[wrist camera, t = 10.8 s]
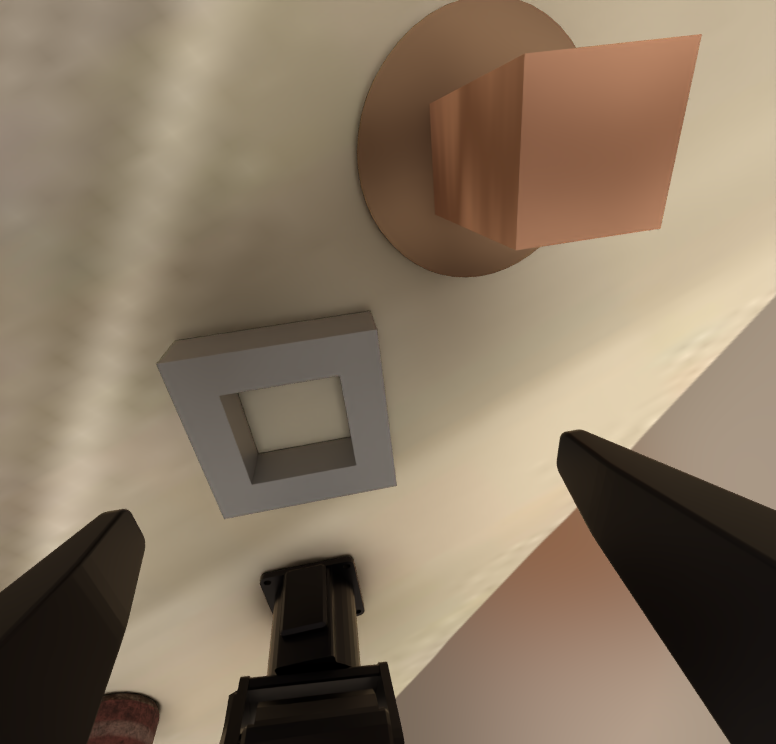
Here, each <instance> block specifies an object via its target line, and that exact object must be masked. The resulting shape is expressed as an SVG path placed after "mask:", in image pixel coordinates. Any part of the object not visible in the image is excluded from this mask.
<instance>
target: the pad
mask: <svg viewBox="0 0 776 744" xmlns="http://www.w3.org/2000/svg"><path fill="white" fill-rule="evenodd" d="M571 48H576V47H575V45H574V44H573V42H572V40H571V39H570V38H569V36H568V35H567V34H566V33H565V31H564V30H563V29H562V28H561V27H560V25H558V24H557V23H556V22H555V21H554V20H553V19H552V18H551V17H549V16H548V15H547V14H546V13H544V12H542V11H541V10H539V9H538V8H536V7H534V6H533V5H530V4H528V3H525V2H523V1H520V0H458V1H456V2H453V3H450V4H447V5H445V6H443V7H441V8H440V9H438V10H436V11H434V12H432V13H431V14H429V15H428V16H426V17H425V18H424V19H422V20H421V21H420V22H418V23H417V24H416V25H415V26H413V27H412V28H411V29H410V30H409V31H408V32H407V33H406V35H405V36H404V37H403V38H402V39H401V40H400V41H399V42H398V43H397V45H396V46H395V47H394V49H393V50H392V51H391V53H390V54H389V55H388V57H387V58H386V60H385V61H384V63H383V64H382V66H381V68H380V70H379V71H378V73H377V75H376V77H375V79H374V80H373V83H372V85H371V88H370V90H369V92H368V95H367V97H366V100H365V104H364V107H363V111H362V114H361V119H360V125H359V131H358V143H357V161H358V172H359V178H360V183H361V188H362V191H363V195H364V198H365V201H366V204H367V206H368V208H369V211H370V213H371V215H372V217H373V219H374V221H375V222H376V224H377V226H378V227H379V229H380V230H381V232H382V233H383V234H384V235H385V237H386V238H387V239H388V240H389V242H390V243H391V244H392V245H393V246H394V247H395V248H396V249H397V250H398V251H399V252H401V253H402V254H403V255H404V256H405V257H407V258H408V259H409V260H411V261H412V262H414V263H415V264H417V265H419V266H421V267H423V268H425V269H427V270H429V271H432V272H435V273H438V274H442V275H447V276H452V277H476V276H482V275H487V274H492V273H495V272H498V271H500V270H503V269H506V268H508V267H510V266H512V265H514V264H516V263H518V262H520V261H521V260H523V259H524V258H526V257H527V256H529V255H530V254H532V253H533V252H534V251H535V250H536V249H538V248H539V247H535V248H528V249H522V250H514V249H512V248H509V247H507V246H505V245H503V244H500V243H498V242H496V241H494V240H491V239H489V238H487V237H485V236H482V235H480V234H478V233H476V232H473V231H471V230H469V229H467V228H464V227H462V226H460V225H458V224H455V223H453V222H451V221H449V220H446V219H444V218H442V217H440V216H437V215H435V205H434V185H433V165H432V145H431V125H430V105H429V104H430V103H432V102H434V101H436V100H438V99H440V98H441V97H443V96H445V95H447V94H449V93H451V92H453V91H455V90H457V89H459V88H460V87H462V86H464V85H466V84H468V83H470V82H472V81H474V80H476V79H477V78H479V77H481V76H483V75H485V74H487V73H489V72H491V71H493V70H495V69H496V68H498V67H500V66H502V65H504V64H506V63H508V62H510V61H512V60H513V59H515V58H517V57H519V56H521V55H523V54H525V53H534V52H544V51H553V50H562V49H571Z"/></svg>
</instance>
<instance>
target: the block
mask: <svg viewBox="0 0 776 744" xmlns="http://www.w3.org/2000/svg"><path fill="white" fill-rule="evenodd" d="M701 36H702V34H699V35H690V36H681V37H672V38H663V39H654V40H644V41H635V42H626V43H617V44H608V45H599V46H589V47H580V48H571V49H562V50H553V51H544V52H534V53H525V54H523V55H521V56H519V57H517V58H515V59H513V60H512V61H510V62H508V63H506V64H504V65H502V66H500V67H498V68H496V69H495V70H493V71H491V72H489V73H487V74H485V75H483V76H481V77H479V78H477V79H476V80H474V81H472V82H470V83H468V84H466V85H464V86H462V87H460V88H459V89H457V90H455V91H453V92H451V93H449V94H447V95H445V96H443V97H441V98H440V99H438V100H436V101H434V102H432V103H430V104H429V105H430V125H431V145H432V165H433V185H434V205H435V215H437V216H440V217H442V218H444V219H446V220H449V221H451V222H453V223H455V224H458V225H460V226H462V227H464V228H467V229H469V230H471V231H473V232H476V233H478V234H480V235H482V236H485V237H487V238H489V239H491V240H494V241H496V242H498V243H500V244H503V245H505V246H507V247H509V248H512V249H514V250H522V249H528V248H535V247H542V246H548V245H555V244H561V243H568V242H574V241H581V240H587V239H594V238H601V237H607V236H614V235H620V234H627V233H633V232H640V231H647V230H653V229H660V228H661V223H662V219H663V214H664V209H665V204H666V200H667V195H668V190H669V186H670V181H671V176H672V172H673V167H674V162H675V158H676V153H677V148H678V143H679V139H680V134H681V129H682V125H683V120H684V115H685V111H686V106H687V101H688V97H689V92H690V87H691V82H692V78H693V73H694V68H695V64H696V59H697V54H698V50H699V45H700V40H701Z"/></svg>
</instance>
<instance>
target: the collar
mask: <svg viewBox="0 0 776 744" xmlns="http://www.w3.org/2000/svg"><path fill="white" fill-rule="evenodd" d="M156 365H157V367H158V369H159V372H160V374H161V376H162V378H163V381H164V383H165V385H166V388H167V390H168V392H169V394H170V397H171V399H172V401H173V404H174V406H175V408H176V410H177V413H178V415H179V417H180V420H181V422H182V424H183V426H184V429H185V431H186V433H187V435H188V438H189V440H190V442H191V445H192V447H193V449H194V451H195V454H196V456H197V458H198V461H199V463H200V465H201V467H202V470H203V472H204V474H205V477H206V479H207V481H208V483H209V486H210V488H211V490H212V493H213V495H214V497H215V499H216V502H217V504H218V506H219V508H220V511H221V513H222V515H223V518H224V519H227V518H232V517H237V516H243V515H248V514H253V513H258V512H263V511H268V510H274V509H279V508H284V507H289V506H294V505H300V504H305V503H310V502H315V501H320V500H325V499H331V498H336V497H341V496H346V495H351V494H357V493H362V492H367V491H372V490H377V489H383V488H388V487H393V486H397V483H396V475H395V467H394V459H393V452H392V444H391V436H390V428H389V420H388V412H387V404H386V396H385V388H384V380H383V372H382V364H381V356H380V348H379V340H378V332H377V328H376V325H375V322H374V319H373V316H372V313H371V311H367V312H360V313H354V314H347V315H340V316H334V317H327V318H321V319H314V320H308V321H301V322H295V323H288V324H281V325H275V326H268V327H262V328H255V329H249V330H242V331H236V332H229V333H222V334H216V335H209V336H203V337H196V338H190V339H183V340H177V341H174V343H173V344H172V345H171V346H170V347H169V349H168V350H167V351H166V352H165V354H164V355H163V356H162V357H161V359H160V360H159V361H158V362H157V364H156ZM335 376H340V380H341V385H342V391H343V396H344V401H345V407H346V412H347V417H348V423H349V428H350V433H351V437H349V438H343V439H338V440H332V441H327V442H321V443H316V444H310V445H304V446H299V447H293V448H288V449H282V450H277V451H271V452H266V453H260V454H258V452H257V449H256V446H255V443H254V440H253V437H252V434H251V431H250V428H249V426H248V423H247V420H246V417H245V414H244V411H243V408H242V405H241V402H240V399H239V396H238V393H239V392H245V391H251V390H257V389H263V388H269V387H275V386H281V385H287V384H293V383H299V382H305V381H311V380H317V379H323V378H329V377H335Z"/></svg>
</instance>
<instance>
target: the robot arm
mask: <svg viewBox="0 0 776 744" xmlns="http://www.w3.org/2000/svg"><path fill="white" fill-rule="evenodd" d="M557 468H558V471H559V473H560V475H561V477H562V479H563V481H564V483H565V485H566V487H567V489H568V491H569V492H570V494H571V496H572V498H573V500H574V502H575V504H576V506H577V508H578V509H579V511H580V513H581V515H582V517H583V519H584V521H585V523H586V525H587V526H588V528H589V530H590V532H591V533H592V535H593V537H594V538H595V540H596V541H597V543H598V545H599V546H600V548H601V549H602V551H603V552H604V554H605V555H606V557H607V558H608V560H609V561H610V563H611V564H612V566H613V567H614V569H615V570H616V572H617V573H618V575H619V576H620V578H621V579H622V581H623V582H624V584H625V585H626V587H627V588H628V590H629V591H630V593H631V594H632V596H633V597H634V599H635V600H636V602H637V603H638V605H639V606H640V608H641V610H642V611H643V612H644V614H645V616H646V617H647V619H648V620H649V622H650V623H651V625H652V626H653V628H654V629H655V631H656V632H657V634H658V635H659V637H660V638H661V640H662V641H663V643H664V644H665V646H666V647H667V649H668V650H669V652H670V653H671V655H672V656H673V658H674V659H675V661H676V662H677V664H678V665H679V667H680V668H681V670H682V671H683V673H684V674H685V676H686V677H687V679H688V680H689V682H690V683H691V685H692V686H693V688H694V689H695V691H696V692H697V694H698V695H699V697H700V698H701V700H702V701H703V703H704V704H705V706H706V707H707V709H708V711H709V712H710V714H711V715H712V716H713V718H714V719H715V721H716V723H717V724H718V726H719V727H720V729H721V730H722V732H723V733H724V735H725V736H726V738H727V739H728V741H729V742H730V744H776V510H774V509H771V508H769V507H766V506H764V505H762V504H759V503H757V502H754V501H752V500H749V499H747V498H745V497H742V496H740V495H738V494H735V493H733V492H730V491H728V490H725V489H723V488H721V487H718V486H716V485H713V484H711V483H708V482H706V481H704V480H702V479H699V478H697V477H694V476H692V475H689V474H687V473H685V472H682V471H680V470H678V469H675V468H673V467H670V466H668V465H665V464H663V463H661V462H658V461H656V460H654V459H651V458H649V457H646V456H644V455H642V454H639V453H637V452H634V451H632V450H630V449H627V448H625V447H622V446H620V445H618V444H615V443H613V442H610V441H608V440H606V439H603V438H601V437H598V436H596V435H594V434H591V433H589V432H586V431H584V430H573V431H567V432H564V433H562V435H561V436H560V441H559V448H558V455H557ZM144 551H145V539H144V536H143V534H142V532H141V530H140V528H139V526H138V525H137V523H136V521H135V519H134V517H133V515H132V514H131V512H130V511H129V510H127V509H119V510H113V511H108V512H104V513H102V514H100V515H99V516H98V517H96V518H95V519H94V520H93V521H91V522H90V523H89V524H87V525H86V526H85V527H84V528H82V529H81V530H80V531H78V532H77V533H76V534H75V535H73V536H72V537H71V538H69V539H68V540H67V541H66V542H64V543H63V544H62V545H60V546H59V547H58V548H57V549H55V550H54V551H53V552H51V553H50V554H49V555H48V556H46V557H45V558H44V559H43V560H41V561H40V562H39V563H37V564H36V565H35V566H34V567H32V568H31V569H30V570H28V571H27V572H26V573H25V574H23V575H22V576H21V577H19V578H18V579H17V580H16V581H14V582H13V583H12V584H10V585H9V586H8V587H7V588H5V589H4V590H3V591H1V592H0V744H87V742H88V739H89V737H90V734H91V731H92V728H93V725H94V722H95V719H96V716H97V713H98V710H99V707H100V704H101V701H102V698H103V696H104V693H105V690H106V687H107V684H108V681H109V678H110V675H111V672H112V669H113V666H114V663H115V660H116V657H117V655H118V652H119V649H120V646H121V643H122V640H123V636H124V633H125V630H126V627H127V623H128V619H129V615H130V611H131V607H132V602H133V598H134V594H135V589H136V585H137V581H138V577H139V572H140V568H141V564H142V559H143V555H144ZM260 585H261V588H262V590H263V592H264V595H265V597H266V599H267V602H268V604H269V607H270V609H271V611H272V614H273V621H272V631H271V641H270V651H269V661H268V671H267V676H262V677H253V678H250V676H244V677H240V681H239V686H238V690H237V691H235V692H234V693H232V694H231V695H229V699H228V705H227V711H226V717H225V723H224V728H223V732H222V736H221V740H220V744H404V737H403V732H402V727H401V722H400V718H399V713H398V709H397V705H396V700H395V695H394V691H393V686H392V682H391V677H390V673H389V668H388V664H387V662H378V664H376V665H367V666H361V665H360V653H359V641H358V630H357V618H356V616H359V615H362V614H363V613H364V603H363V599H362V594H361V590H360V586H359V581H358V577H357V572H356V568H355V563H354V559H353V558H352V557H349V556H347V557H341V558H336V559H332V560H327V561H322V562H317V563H312V564H307V565H302V566H298V567H293V568H288V569H283V570H278V571H273V572H269V573H265V574H263V575H262V576H261V578H260Z"/></svg>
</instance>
